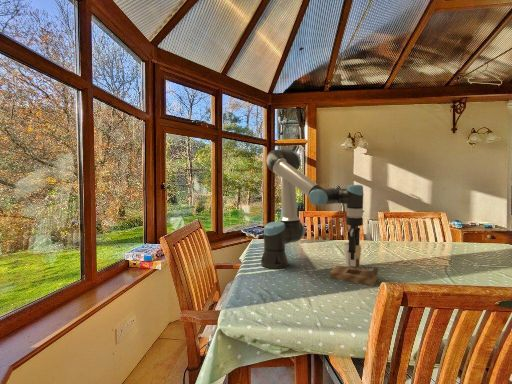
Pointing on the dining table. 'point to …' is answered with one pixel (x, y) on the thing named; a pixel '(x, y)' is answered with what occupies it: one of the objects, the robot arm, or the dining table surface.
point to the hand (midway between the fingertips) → (353, 264)
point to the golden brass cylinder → (356, 256)
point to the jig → (355, 275)
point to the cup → (346, 249)
